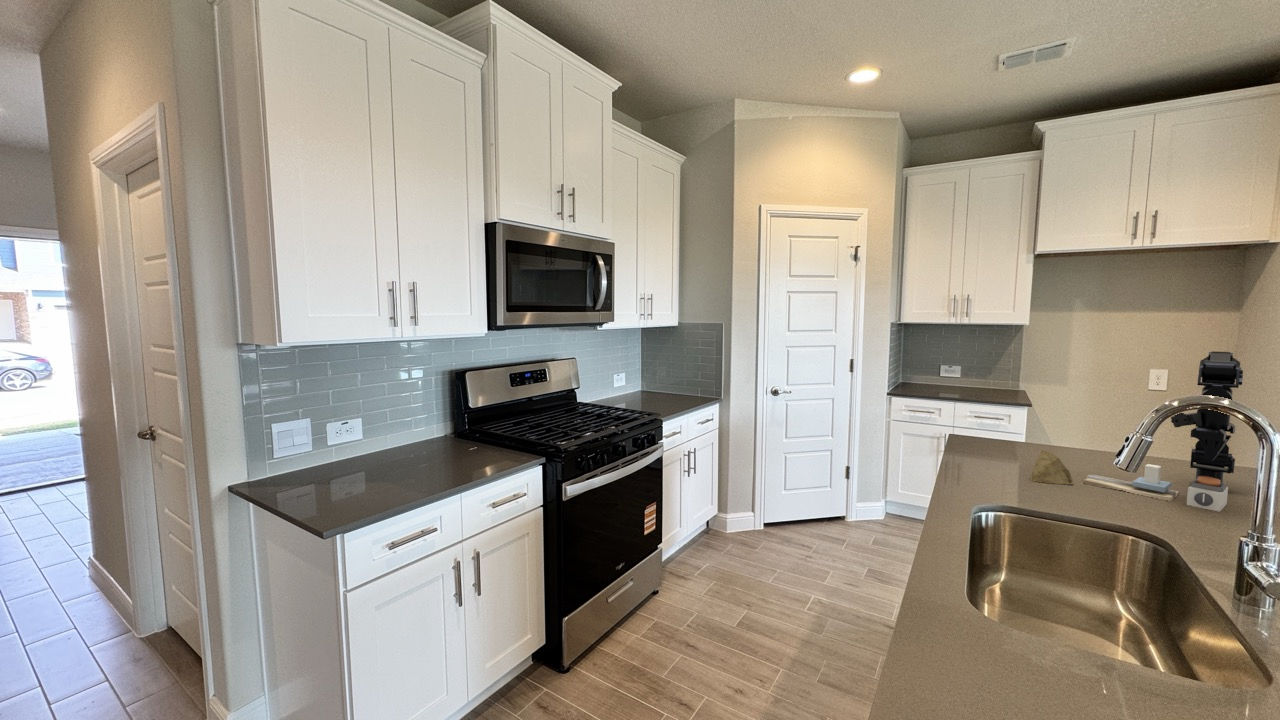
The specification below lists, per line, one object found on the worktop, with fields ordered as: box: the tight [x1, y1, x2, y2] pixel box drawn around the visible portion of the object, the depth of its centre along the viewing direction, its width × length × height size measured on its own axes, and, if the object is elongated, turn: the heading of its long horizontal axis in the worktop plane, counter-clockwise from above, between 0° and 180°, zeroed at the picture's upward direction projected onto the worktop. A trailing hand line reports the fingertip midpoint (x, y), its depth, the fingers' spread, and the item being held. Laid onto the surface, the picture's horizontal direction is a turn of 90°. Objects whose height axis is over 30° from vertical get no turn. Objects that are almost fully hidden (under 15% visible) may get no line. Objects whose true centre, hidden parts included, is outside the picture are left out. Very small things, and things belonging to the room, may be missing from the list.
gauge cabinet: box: [1186, 478, 1229, 513], centre depth 148 cm, size 10×6×6 cm, turn 124°
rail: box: [1082, 474, 1180, 502], centre depth 162 cm, size 10×20×2 cm, turn 34°
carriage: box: [1132, 463, 1172, 492], centre depth 157 cm, size 8×7×6 cm
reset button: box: [1197, 476, 1221, 486], centre depth 147 cm, size 4×4×1 cm
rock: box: [1030, 450, 1074, 485], centre depth 167 cm, size 11×9×10 cm
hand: (1210, 460), depth 147 cm, fingers open, 3 cm apart
